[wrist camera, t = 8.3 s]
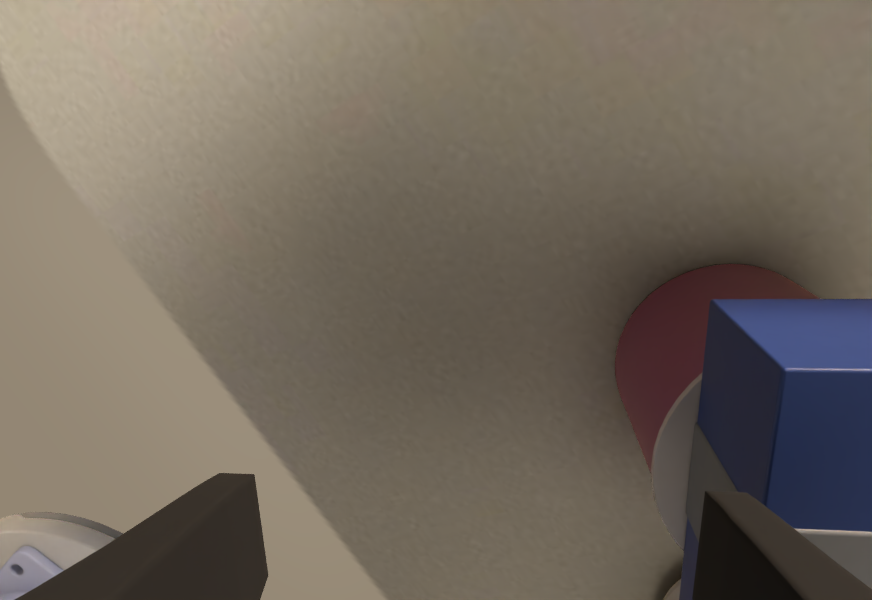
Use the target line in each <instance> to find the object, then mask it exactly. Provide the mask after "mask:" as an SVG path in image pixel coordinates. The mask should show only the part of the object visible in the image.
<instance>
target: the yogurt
mask: <svg viewBox="0 0 872 600" xmlns="http://www.w3.org/2000/svg"><path fill="white" fill-rule="evenodd" d="M713 299H820V298H819V297H817V296H815V295H814V294H812V293H811V292H809V291H807V290H806V289H804V288H802V287H801V286H799V285H798V284H796V283H794V282H793V281H791V280H789V279H788V278H786V277H784V276H782V275H780V274H778V273H776V272H774V271H770V270H767V269H764V268H761V267H756V266H751V265H743V264H722V265H713V266H708V267H702V268H699V269H696V270H693V271H689V272H687V273H684V274H682V275H680V276H678V277H675V278H673V279H672V280H670V281H668V282H667V283H665V284H663V285H662V286H660V287H659V288H658V289H656V290H655V291H654V292H652V293H651V294H650V295H649V296H648V297H647V298H646V299H645V300H644V301H643V302H642V303H641V304H640V305H639V306H638V307H637V309H636V310H635V311H634V313H633V314H632V315H631V317H630V318H629V320H628V322H627V323H626V325H625V327H624V329H623V332H622V334H621V336H620V339H619V343H618V346H617V350H616V358H615V376H616V382H617V387H618V390H619V393H620V396H621V399H622V401H623V404H624V407H625V409H626V412H627V414H628V417H629V419H630V422H631V424H632V427H633V430H634V432H635V435H636V437H637V440H638V442H639V445H640V447H641V450H642V453H643V455H644V458H645V460H646V463H647V465H648V468H649V470H650V473H651V482H652V489H653V495H654V499H655V502H656V505H657V508H658V511H659V514H660V516H661V518H662V520H663V522H664V524H665V526H666V528H667V530H668V532H669V533H670V535H671V536H672V537H673V539H674V540H675V542H676V543H677V544H678V545H679V546H680V548H681V549H682V550H683V551H684V547H685V537H686V528H687V518H688V517H687V515H686V502H687V492H688V482H689V472H690V463H691V453H692V443H693V433H694V425H695V423H696V422H697V421H698V412H699V402H700V392H701V383H702V373H703V363H704V354H705V344H706V335H707V325H708V315H709V306H710V301H711V300H713Z"/></svg>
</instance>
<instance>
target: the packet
mask: <svg viewBox="0 0 872 600" xmlns="http://www.w3.org/2000/svg"><path fill="white" fill-rule="evenodd" d="M705 491H720V492H747V493H748V494H750V495H751V496H752V497H754V498H755V499H757V500H758V501H759V502H761V503H762V504H763V505H765V506H766V507H767V508H768V509H770V510H771V511H772V512H774V513H775V514H776V515H777V516H779V517H780V518H781V519H783V520H784V521H785V522H786V523H788V524H789V525H790V526H791V527H793V528H794V529H795V530H796V531H798V532H799V533H800V534H801V535H803V536H804V537H805V538H806V539H808V540H809V541H810V542H812V543H813V544H814V545H815V546H817V547H818V548H819V549H820V550H822V551H823V552H824V553H825V554H827V555H828V556H829V557H831V558H832V559H833V560H834V561H836V562H837V563H838V564H840V565H841V566H842V567H843V568H845V569H846V570H847V571H849V572H850V573H851V574H853V575H854V576H855V577H856V578H858V579H859V580H860V581H862V582H863V583H864V584H866V585H867V586H868V587H870V588H871V589H872V299H713V300H711V301H710V306H709V315H708V325H707V335H706V344H705V354H704V363H703V373H702V383H701V392H700V402H699V412H698V421H697V422H696V423H695V425H694V433H693V443H692V453H691V463H690V472H689V482H688V492H687V502H686V515H687V517H688V518H687V528H686V537H685V547H684V557H683V566H682V576H681V586H680V595H679V600H692V596H693V587H694V579H695V571H696V562H697V554H698V545H699V537H700V529H701V520H702V512H703V503H704V495H705Z"/></svg>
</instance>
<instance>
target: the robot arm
mask: <svg viewBox="0 0 872 600" xmlns="http://www.w3.org/2000/svg"><path fill="white" fill-rule="evenodd" d="M267 577H268V570H267V563H266V556H265V549H264V542H263V535H262V527H261V520H260V512H259V505H258V498H257V490H256V484H255V477H254V474H229V473H228V474H227V473H219V474H217V475H216V476H214V477H212V478H210V479H208V480H207V481H205V482H203V483H202V484H200V485H198V486H197V487H195V488H193V489H192V490H191V491H189V492H187V493H186V494H184V495H182V496H181V497H179V498H178V499H176V500H175V501H173V502H172V503H170V504H169V505H167V506H166V507H164V508H163V509H161V510H160V511H158V512H156V513H155V514H153V515H152V516H150V517H149V518H147V519H146V520H144V521H143V522H141V523H140V524H138V525H136V526H135V527H134V528H132V529H130V530H129V531H127V532H126V533H124V534H123V535H121V536H119V537H118V538H116V539H115V540H113V541H112V542H110V543H109V544H107V545H105V546H104V547H102V548H101V549H99V550H97V551H96V552H94V553H92V554H91V555H89V556H87V557H86V558H84V559H82V560H81V561H79V562H77V563H76V564H74V565H72V566H71V567H69V568H67V569H66V570H63V569H62V568H60V567H59V566H58V565H56V564H55V563H54V562H52V561H51V560H50V559H48V558H47V557H46V556H45V555H43V554H42V553H41V552H39V551H38V550H37V549H35V548H33V547H30V546H22V547H21V548H19V549H18V550H17V551H16V552H15V553H14V554H13V555H12V556H11V557H10V558H9V560H8V561H7V562H6V563H5V564H4V565H3V567H2V568H1V569H0V600H260V598H261V595H262V592H263V589H264V586H265V583H266V580H267ZM692 600H872V589H871V588H870V587H868V586H867V585H866V584H864V583H863V582H862V581H860V580H859V579H858V578H856V577H855V576H854V575H853V574H851V573H850V572H849V571H847V570H846V569H845V568H843V567H842V566H841V565H840V564H838V563H837V562H836V561H834V560H833V559H832V558H831V557H829V556H828V555H827V554H825V553H824V552H823V551H822V550H820V549H819V548H818V547H817V546H815V545H814V544H813V543H812V542H810V541H809V540H808V539H806V538H805V537H804V536H803V535H801V534H800V533H799V532H798V531H796V530H795V529H794V528H793V527H791V526H790V525H789V524H788V523H786V522H785V521H784V520H783V519H781V518H780V517H779V516H777V515H776V514H775V513H774V512H772V511H771V510H770V509H768V508H767V507H766V506H765V505H763V504H762V503H761V502H759V501H758V500H757V499H755V498H754V497H752V496H751V495H750V494H748V493H747V492H720V491H705V495H704V503H703V512H702V520H701V529H700V537H699V545H698V554H697V562H696V571H695V579H694V587H693V596H692Z"/></svg>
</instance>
